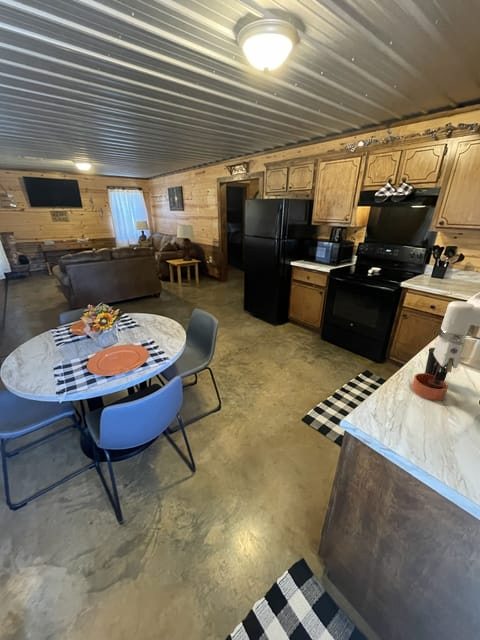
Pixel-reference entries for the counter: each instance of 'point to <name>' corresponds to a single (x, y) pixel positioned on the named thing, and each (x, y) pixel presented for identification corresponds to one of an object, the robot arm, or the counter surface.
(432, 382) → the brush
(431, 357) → the drinking cup
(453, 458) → the counter surface
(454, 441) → the counter surface
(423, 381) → the bowl
